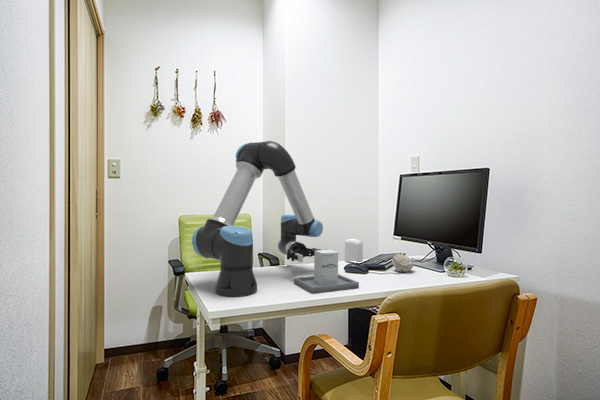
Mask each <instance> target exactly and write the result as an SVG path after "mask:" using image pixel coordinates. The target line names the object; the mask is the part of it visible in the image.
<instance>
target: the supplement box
mask: <svg viewBox="0 0 600 400" xmlns="http://www.w3.org/2000/svg"><path fill="white" fill-rule="evenodd" d="M313 258H314V259H313V260H314V264H313V267H314V269H313V270H314V271H313V276H314V282H316V283H317V284H319V285H320V286H322V285H333V284H338V274H339V252H338V251H336V250H334V249H327V250H326V249H321V250H315V256H313Z"/></svg>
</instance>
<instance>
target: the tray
mask: <svg viewBox="0 0 600 400" xmlns="http://www.w3.org/2000/svg"><path fill="white" fill-rule="evenodd" d="M293 284H294V285H296V286H298V287H299V288H301V289H303V290H304V291H306V292H308V293H310V294H312V295H313V294H320V293H329V292H330V293H332V292H337V291H338V292H339V291H345V290H353V289H355V290H356V289H359V287H360V282H359V281H356V280H354V279H351V278H349V277H347V276H344V275H341V274H339V273H338V284H333V285H322V286H320V285H319V284H317V283H316V282H314V275H313V276H302V277H294V278H293Z"/></svg>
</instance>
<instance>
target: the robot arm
mask: <svg viewBox="0 0 600 400" xmlns="http://www.w3.org/2000/svg"><path fill="white" fill-rule="evenodd" d="M235 158H236V159H235V163H236V164H235V167H236V169H237V170H236V172H235V173H234V176H233V177H232V179H231V181H230V183H229V185H228V186H227V189H226V191H225V193H224V195H223V196H222V199H221V201H220V203H219V204H218V207H217V209H216V210H215V212H214V215H213V216H212V217H211V218H207V220H206V222H205V224H204V225H203V226H200V227H198V228H196V230H194V232H193V234H192V236H191V237H192V239H191V245H192V249H193V251H194V252H195V253H196V255H198V256H200V257H203V258H206V259H211V260H218V261H219V263H220V265H219V266H220V270H219V275H218V277H217V280H216V284H215V286H214V287H215V290H214V291H215V294H217V295H219V294H220V295H219V296H223V295H224V296H223V297H244V296H250V295H252V294H255V293H257V292H258V283H257V280H256V277H255V274H254V271H253V262H254V261H253V257H254V256H253V255H254V254H253V252H254V239H253V231H252V230H251V229H249V228H247V227H244V226H237V225H234V224H235V223H236V220H237V219H238V216H239V214H240V213H241V210H242V208H243V206H244V204H245V202H246V200H247V198H248V196H249V194H250V191H251V190H252V188H253V185H254V182H255V181H256V179H260V178H261V177H262V175H263V173H264V170H271V171H272V172H273V174H274V176H275V177H277V178H278V180H279V182H280V185H281V186H282V189H283V191H284V193H285V194H284V195H286V198H287V200H288V202H289V205H290V207H291V209H292V211H293V214H282V215H281V217H280V240H279V241H278V243H277V250H278V251H279V252H281V254H283V255H285V256H286V260H291V262H295V261H297V262H298V263H304V260H303V259H304V258H305V257H310V258H311V257H312V258H313V257H314V256H315V250H322V249H321V248H314V247H313V248H312V247H311V248H308V247H307V246H306V244H304V243H302V242H299V241H297V236H302V237H310V238H319V237H320V236H321V235H322V234H323V231H324V230H323V229H324V226H323V223H322V222H321V221H320V220H316V219H315V216H314V215H313V212H312V210H311V207H310V205H309V202H308V199H307V197H306V195H305V193H304V190H303V187H302V185H301V182H300V181H299V178H298V176H297V173H296V164H295V161H294V159H293V158H292V156H291V155H290V154H289V152H288V150H286V149H285V147H283V146H282V144H280V143H278V142H276V141H272V140H267V141H259V142H258V141H257V142H248V143H244V144H242V145H241V146H239V148H238V149H237V150H236V153H235ZM325 250H328V249H327V248H326V249H325Z"/></svg>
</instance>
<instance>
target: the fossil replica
mask: <svg viewBox="0 0 600 400" xmlns="http://www.w3.org/2000/svg"><path fill="white" fill-rule="evenodd" d="M391 265H392V266H393V267H395V268H394V269H395V270H396V271H397V272H401V273H402V272H404V273H407V272H410V271H411V270H413V267H414V265H415V264H414V262H413V261H412V260H411V258H410V257H408V256H406V255H404V254H402V253H399V252H398V253H396V254H395V255H393V257H392V259H391Z"/></svg>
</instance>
